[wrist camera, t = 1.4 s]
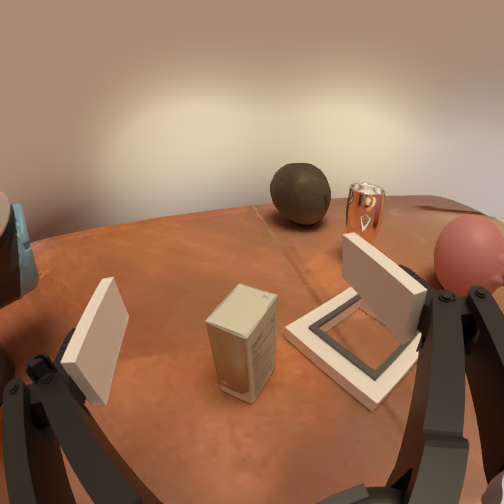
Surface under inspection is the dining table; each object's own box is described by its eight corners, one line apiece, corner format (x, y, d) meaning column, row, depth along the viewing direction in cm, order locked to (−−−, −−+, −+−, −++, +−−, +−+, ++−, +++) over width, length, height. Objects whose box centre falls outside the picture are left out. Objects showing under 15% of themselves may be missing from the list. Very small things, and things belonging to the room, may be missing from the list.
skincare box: (245, 356, 34) (240, 280, 28) (276, 368, 32) (280, 292, 26) (218, 392, 30) (202, 319, 23) (251, 407, 28) (246, 337, 21)
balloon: (476, 348, 30) (521, 264, 22) (409, 278, 47) (429, 202, 39) (513, 319, 33) (546, 248, 25) (454, 265, 50) (472, 200, 42)
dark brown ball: (315, 210, 75) (318, 157, 68) (336, 233, 63) (342, 170, 56) (265, 214, 74) (265, 158, 66) (278, 238, 62) (279, 171, 54)
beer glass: (337, 266, 51) (347, 190, 44) (341, 249, 57) (350, 180, 49) (372, 273, 49) (387, 197, 41) (373, 255, 54) (385, 186, 47)
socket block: (284, 337, 37) (285, 324, 36) (356, 291, 45) (358, 279, 43) (371, 411, 26) (378, 401, 24) (432, 340, 33) (438, 328, 32)
